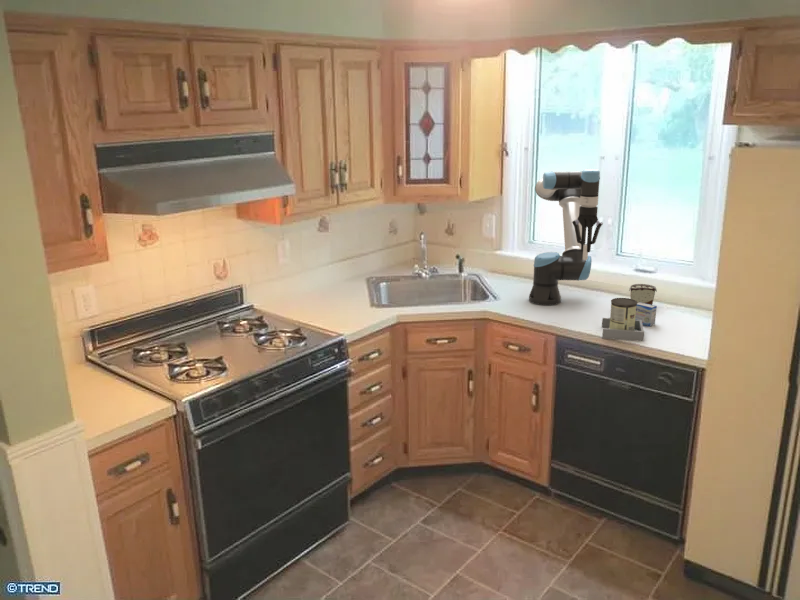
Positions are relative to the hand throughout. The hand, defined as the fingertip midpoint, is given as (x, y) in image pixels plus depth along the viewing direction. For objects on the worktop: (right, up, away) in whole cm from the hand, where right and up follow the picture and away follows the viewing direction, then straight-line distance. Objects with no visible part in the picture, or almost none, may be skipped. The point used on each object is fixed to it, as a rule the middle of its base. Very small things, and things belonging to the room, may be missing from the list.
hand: (585, 259), depth 301 cm
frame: (+11, -32, -15) cm, 37 cm away
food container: (+31, -21, +20) cm, 43 cm away
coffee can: (+11, -32, -15) cm, 37 cm away
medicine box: (+25, -29, -4) cm, 38 cm away
